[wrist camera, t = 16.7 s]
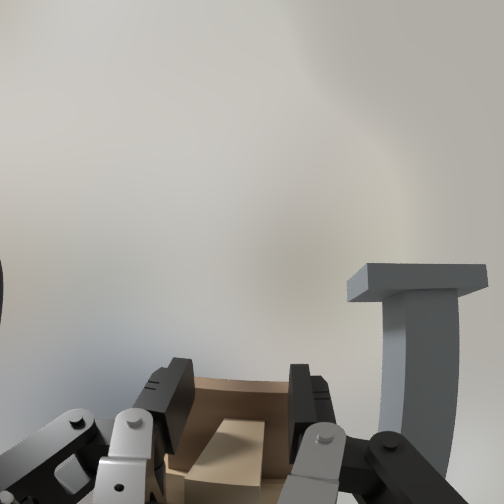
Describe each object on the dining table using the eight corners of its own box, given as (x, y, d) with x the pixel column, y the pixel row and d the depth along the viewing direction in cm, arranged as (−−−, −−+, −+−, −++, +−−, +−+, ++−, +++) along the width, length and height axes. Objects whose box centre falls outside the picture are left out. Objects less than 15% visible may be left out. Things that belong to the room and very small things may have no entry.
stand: (310, 638, 8) (358, 263, 17) (306, 607, 12) (340, 281, 22) (421, 614, 7) (490, 264, 16) (406, 589, 12) (455, 280, 21)
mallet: (100, 537, 6) (85, 409, 7) (190, 444, 18) (191, 376, 20) (352, 564, 5) (377, 432, 7) (308, 450, 18) (312, 381, 19)
